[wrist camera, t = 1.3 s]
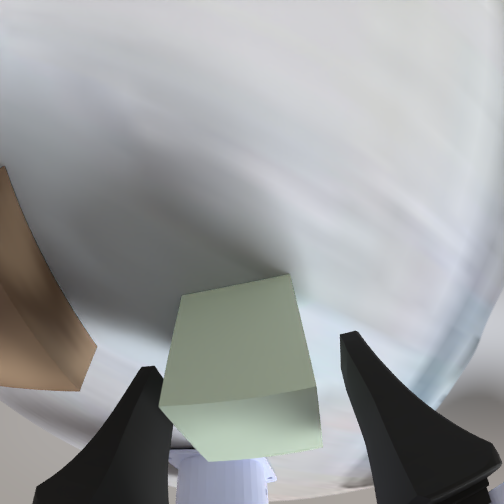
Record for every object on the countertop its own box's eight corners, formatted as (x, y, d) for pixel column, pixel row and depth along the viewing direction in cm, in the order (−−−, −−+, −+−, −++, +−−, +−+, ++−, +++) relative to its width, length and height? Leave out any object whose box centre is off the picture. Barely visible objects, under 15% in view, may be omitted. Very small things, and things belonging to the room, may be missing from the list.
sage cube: (302, 347, 14) (322, 447, 10) (213, 363, 15) (208, 461, 10) (289, 273, 12) (316, 386, 7) (182, 294, 13) (158, 406, 8)
